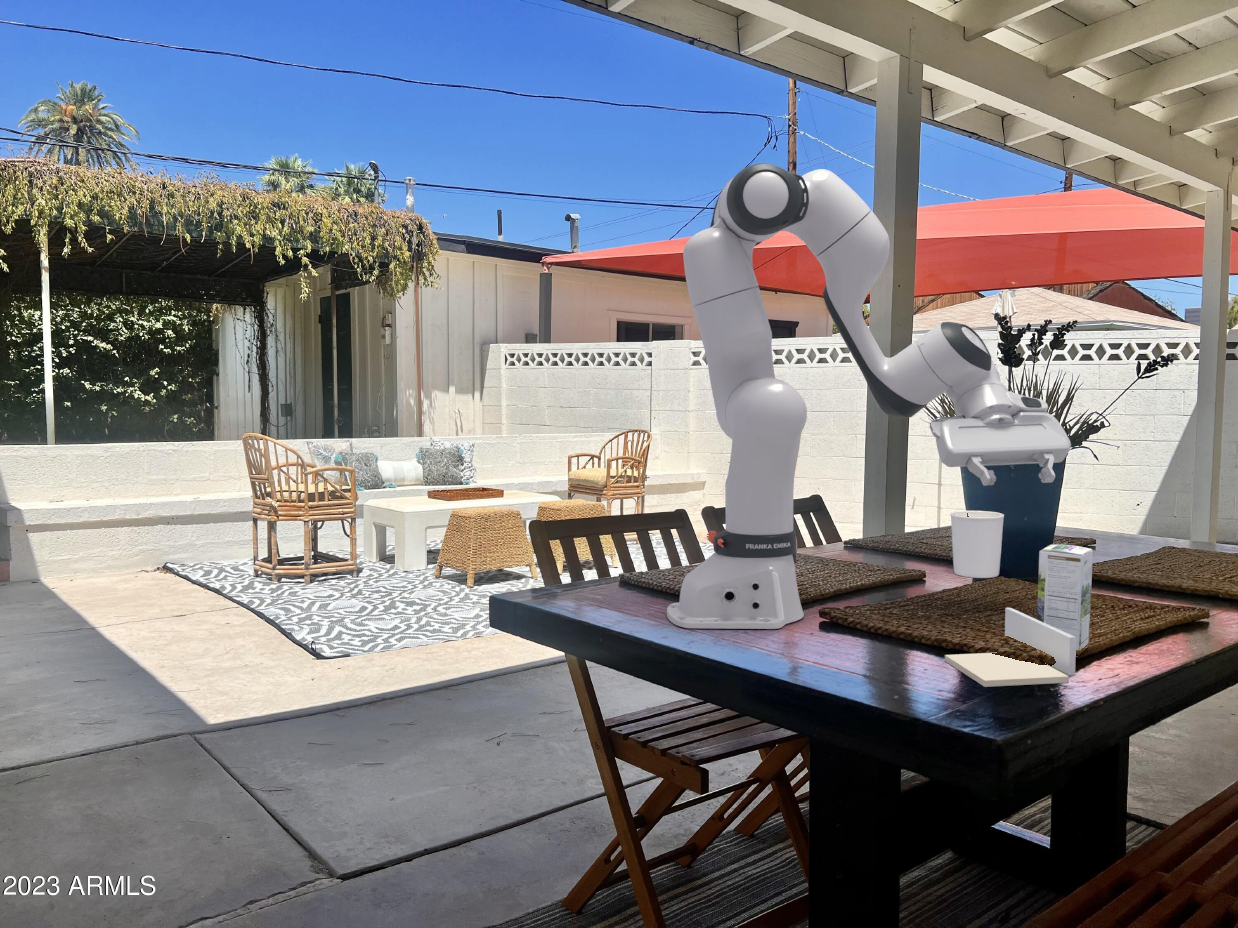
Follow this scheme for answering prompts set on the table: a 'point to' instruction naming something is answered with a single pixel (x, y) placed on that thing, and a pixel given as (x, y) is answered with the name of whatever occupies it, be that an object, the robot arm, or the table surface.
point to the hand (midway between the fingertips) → (1019, 481)
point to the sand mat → (1004, 670)
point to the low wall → (1042, 639)
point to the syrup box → (1066, 590)
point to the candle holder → (976, 543)
